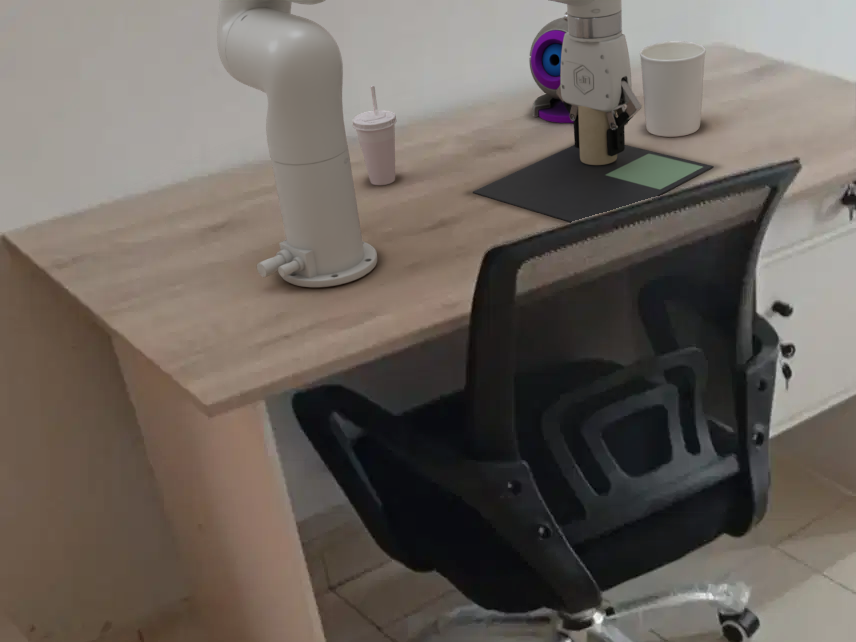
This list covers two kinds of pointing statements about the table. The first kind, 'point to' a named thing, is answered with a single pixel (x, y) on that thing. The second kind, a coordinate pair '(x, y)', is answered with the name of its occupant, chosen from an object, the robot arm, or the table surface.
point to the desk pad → (591, 182)
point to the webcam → (549, 71)
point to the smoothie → (377, 142)
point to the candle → (594, 136)
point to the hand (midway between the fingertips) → (599, 148)
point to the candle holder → (672, 87)
